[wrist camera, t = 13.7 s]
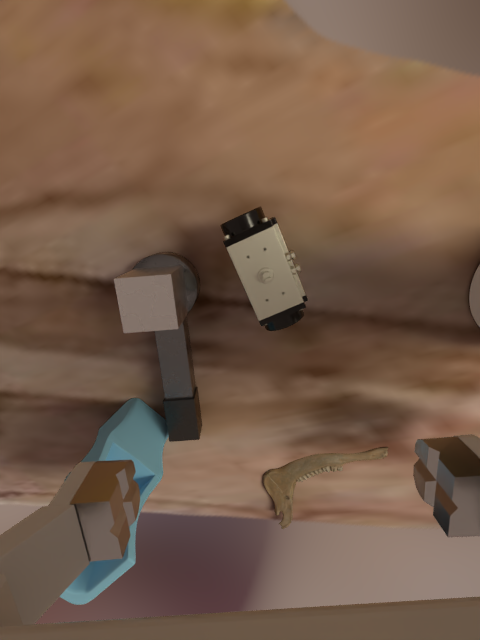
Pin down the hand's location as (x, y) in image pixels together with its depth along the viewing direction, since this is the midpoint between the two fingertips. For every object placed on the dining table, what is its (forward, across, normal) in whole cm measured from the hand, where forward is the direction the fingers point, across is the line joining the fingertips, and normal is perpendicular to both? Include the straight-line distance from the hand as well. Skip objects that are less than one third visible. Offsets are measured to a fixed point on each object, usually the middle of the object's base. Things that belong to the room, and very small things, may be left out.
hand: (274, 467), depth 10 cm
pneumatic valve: (+34, -2, -2) cm, 34 cm away
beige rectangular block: (+31, +10, 0) cm, 32 cm away
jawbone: (+35, -10, +32) cm, 49 cm away
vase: (+34, +17, +20) cm, 44 cm away
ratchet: (+34, +10, +8) cm, 36 cm away
